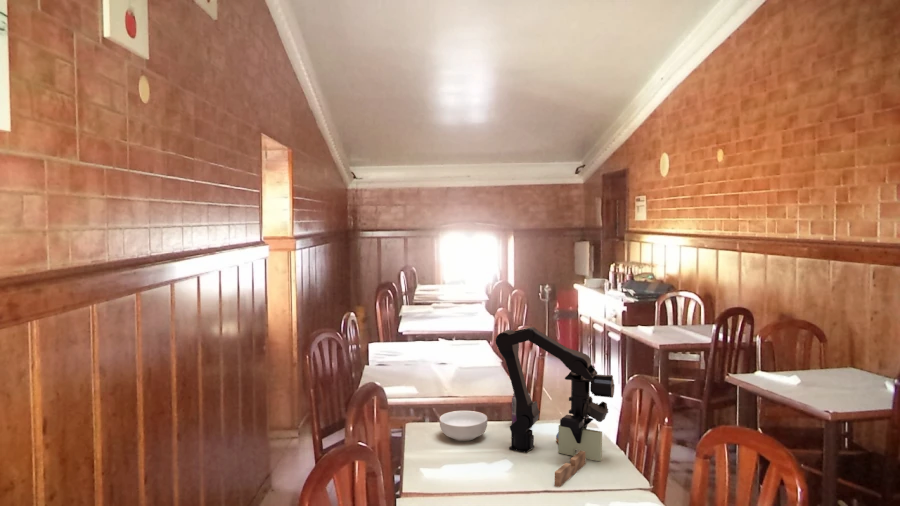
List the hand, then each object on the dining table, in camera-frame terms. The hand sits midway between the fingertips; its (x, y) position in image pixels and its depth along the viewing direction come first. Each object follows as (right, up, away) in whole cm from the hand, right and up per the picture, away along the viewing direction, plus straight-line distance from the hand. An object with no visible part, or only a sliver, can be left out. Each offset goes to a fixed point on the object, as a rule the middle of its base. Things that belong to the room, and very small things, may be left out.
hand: (579, 442), depth 208 cm
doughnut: (0, -4, +13) cm, 14 cm away
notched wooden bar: (-6, -6, -14) cm, 16 cm away
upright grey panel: (0, -5, 0) cm, 4 cm away
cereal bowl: (-37, -4, +19) cm, 41 cm away
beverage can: (-15, -3, +30) cm, 34 cm away
